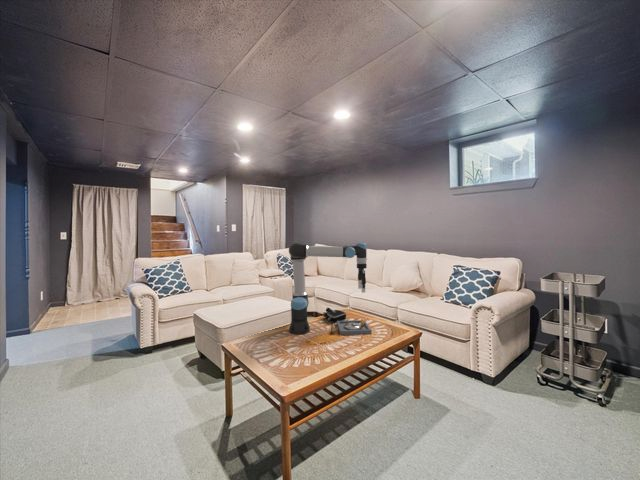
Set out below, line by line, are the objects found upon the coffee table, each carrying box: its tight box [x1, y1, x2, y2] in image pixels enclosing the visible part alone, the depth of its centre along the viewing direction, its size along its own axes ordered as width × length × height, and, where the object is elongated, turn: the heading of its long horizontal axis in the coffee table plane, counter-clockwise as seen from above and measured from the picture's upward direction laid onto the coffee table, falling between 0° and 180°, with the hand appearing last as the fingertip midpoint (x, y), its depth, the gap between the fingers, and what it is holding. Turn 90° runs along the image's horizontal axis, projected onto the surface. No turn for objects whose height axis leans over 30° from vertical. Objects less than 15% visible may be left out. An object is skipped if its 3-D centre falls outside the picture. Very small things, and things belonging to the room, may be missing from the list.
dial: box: [345, 318, 365, 330], centre depth 217 cm, size 14×13×6 cm
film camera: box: [322, 307, 347, 325], centre depth 238 cm, size 8×16×15 cm
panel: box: [336, 319, 372, 336], centre depth 217 cm, size 22×22×3 cm
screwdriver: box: [331, 323, 338, 335], centre depth 214 cm, size 3×16×3 cm, turn 3°
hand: (361, 290), depth 226 cm, fingers open, 13 cm apart
